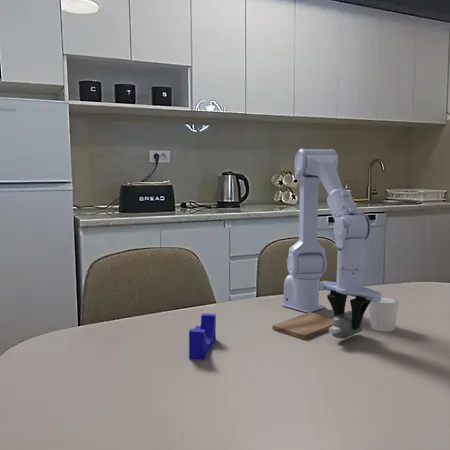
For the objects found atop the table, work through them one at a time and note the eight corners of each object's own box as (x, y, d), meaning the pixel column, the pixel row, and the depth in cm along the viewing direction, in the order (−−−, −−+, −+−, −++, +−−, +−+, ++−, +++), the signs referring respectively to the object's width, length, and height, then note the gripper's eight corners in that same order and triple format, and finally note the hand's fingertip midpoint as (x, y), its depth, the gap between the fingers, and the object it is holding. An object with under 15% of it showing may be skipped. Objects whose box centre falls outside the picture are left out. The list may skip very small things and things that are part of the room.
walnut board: (272, 329, 111) (272, 325, 111) (310, 315, 122) (310, 312, 122) (304, 339, 105) (304, 335, 105) (341, 324, 115) (341, 320, 115)
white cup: (393, 323, 116) (394, 296, 116) (400, 333, 110) (402, 304, 109) (365, 322, 117) (366, 295, 116) (371, 331, 110) (372, 303, 109)
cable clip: (196, 338, 106) (196, 313, 105) (215, 339, 105) (215, 314, 104) (182, 359, 94) (181, 330, 93) (203, 360, 93) (203, 332, 93)
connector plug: (324, 337, 102) (325, 319, 102) (351, 325, 110) (352, 309, 110) (338, 341, 100) (339, 323, 99) (365, 329, 108) (365, 312, 107)
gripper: (312, 265, 106) (311, 322, 108) (371, 275, 96) (368, 339, 97) (329, 261, 111) (327, 316, 113) (387, 270, 101) (384, 331, 102)
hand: (347, 326), depth 105 cm, fingers closed on connector plug, 3 cm apart
